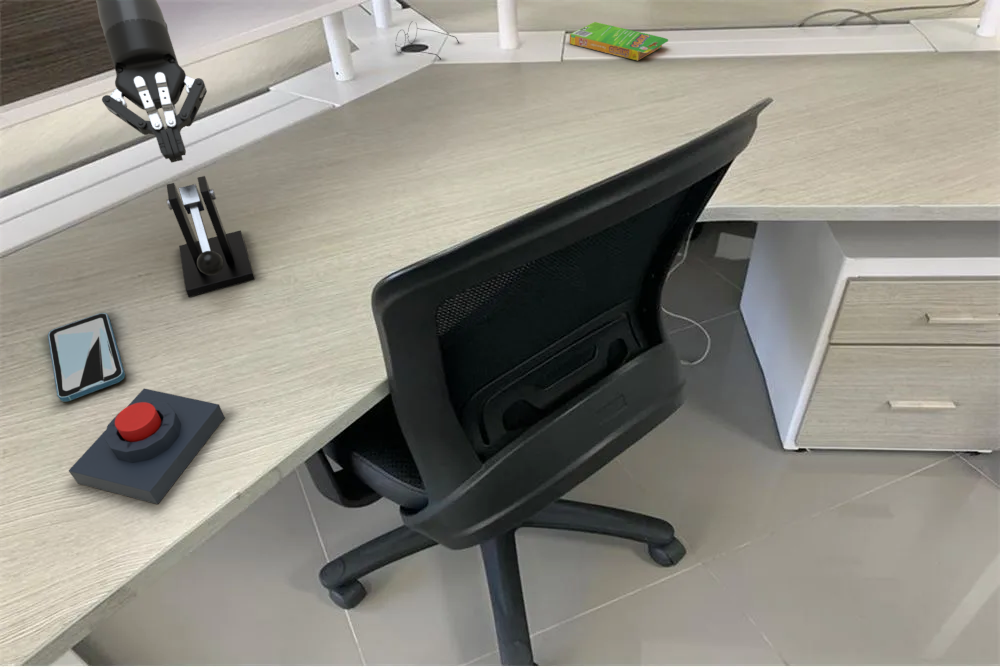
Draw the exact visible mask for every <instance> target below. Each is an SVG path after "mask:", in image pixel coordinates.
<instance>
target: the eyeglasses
mask: <svg viewBox="0 0 1000 667" xmlns="http://www.w3.org/2000/svg"><path fill="white" fill-rule="evenodd" d="M411 24H412V22H410V23H409V25H408V29H407V31H410V30H409V29H410V26H411ZM415 24H416V26H418V24H417V23H415ZM416 30H420V28H419V27H416ZM422 30H424V31H428V29H426V28H421V31H422ZM401 31H403V33H404V38H405V39H404V42H406V40H407V41H408V43H409V44H411V45H412V44H413V42H415V41H416V39H417V35H418V32H416V34H415V38H414V40H413V42H410V40H409V38H410V35H407V33H406V32H405V30H404V29H400V30H399V31H398V32H397V34H396V36H395V40H397V39H398V35H399V33H400V32H401ZM429 32H433V30H432V29H429ZM434 32H435V33H438V34H442V35H446V36H449V37H453V38H455V39H456V42H457V43H458V44H460V41H459V40H458V38H457V36H455V35H452V34H448V33H443V32H439V31H436V30H434ZM406 35H407V36H406ZM394 45H395V47H397V48H401V49H402V50H401V51H398V49H397V48H395V51H396V53H398V54H401V53H402V52H403V51H404V50H408V51H411V52H415V50H413V49H408V48H406V47H405V46H406V44H404V46H400V45H397V44H394ZM416 52H418V53H421V51H420V50H416ZM422 53H424V54H429V55H434V56H436V57H437V58H438V59H439V60H440V61H441V60H442V58H441V57H440V56H439V55H438V54H437V53H433V52H432V53H431V52H425V51H422Z"/></svg>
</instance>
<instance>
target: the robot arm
mask: <svg viewBox="0 0 1000 667" xmlns="http://www.w3.org/2000/svg"><path fill="white" fill-rule="evenodd" d="M95 3H96V7H97V13H98V20H99V22H100V25H101V29H102V32H103V35H104V38H105V42H106V45H107V49H108V51H109V55H110V57H111V62H112V64H113V67H114V70H115V74H116V75H115V80H114V86H115V89H114V90H113V91H112V92H111V94H110V95H108V94H106V95H103V96H102V98H101V102H102V103H103V105H104V106H105V107H106V109H107V110H108V111H109V112H110V113H112V114H113V115H114V116H115V117H117V118H119V119H120V120H121V121H123V122H124V123H126V124H127V125H128V126H130V127H132V128H133V129H135V130H136V131H137V132H139V133H141V134H142V135H144V136H147V135H153V136H155V138H156V141H157V144H158V148H159V151H160V153H161V155H162V156H163V157H164V159H165V160H169V161H170V163H176V162H180V161H183V160H184V159H183V158H184V157H183V156H186V155H187V154H186V152H187V151H186V146H185V144H184V141H183V138H182V134H181V131H182V129H184V128H185V127H191V126H192V125H193V123H194V121H195V118H196V117H197V114H198V112H199V110H200V108H201V106H202V104H203V101H204V99H205V97H206V94H207V91H208V90H207V86H206V83H205V81H204V79H202V78H199V77H198V78H192V77H191V76H188V75H187V74H186V72H185V70H184V69H183V68H182V67H181V65H180V64H179V62H178V58H177V55H176V53H175V49H174V46H173V42H172V41H171V40H172V39H171V36H170V33H169V29H168V24H167V22H166V19H165V17H164V14H163V12H162V9H161V7H160V4H159V2H158V0H95ZM184 89H185V91H186V94H187V95H186V97H185V100H184V101H183V104H182V105H181V108H180V111H179V113H178V114H177V109H176V104H178V102H179V100H180V98H181V96H182V93H183V90H184ZM124 98H126V99H127V100H128V101H130V102H131V103H133V104H134V105H135V106H137V107H138V108H139V109H140V110H143V111H145V112H146V114H147V117H148V120H145V119H144V118H142V117H141V116H139V115H138V114H136V113H135V112H134V111H132V109H130V108H128V104H127V102H126V100H125V99H124ZM160 109H162V110H163V112H162V113H163V115H164V120H165V124H166V127H165V125H164V122H163V120H162V117H161V114H160V112H159V110H160Z"/></svg>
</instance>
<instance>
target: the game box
mask: <svg viewBox="0 0 1000 667" xmlns="http://www.w3.org/2000/svg"><path fill="white" fill-rule="evenodd" d="M668 42H669V39H668V38H666V37H663V36H657V35H653V34H649V33H645V32H641V31H636V30H631V29H628V28H623V27H620V26H619V27H618V26H615V25H610V24H606V23H601V22H597V21H594V22H591V23H589V24H587V25H586V26H583V27H581V28H579V29H577V30H575V31H573V32H571V33H569V44H570V45H573V46H578V47H581V48H584V49H585V48H586V49H589V50H593V51H596V52H601V53H605V54H610V55H614V56H617V57H621V58H624V59H630V60H633V61H637V62H639V61H640V60H641V59H644V58H645V57H647V56H648V55H650V54H652V53H654V52H656V51H657V50H659V49H661V48H662V47H663V45H664V44H666V43H668Z"/></svg>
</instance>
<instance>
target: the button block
mask: <svg viewBox="0 0 1000 667" xmlns="http://www.w3.org/2000/svg"><path fill="white" fill-rule="evenodd" d="M140 402H146V403H150V404H152V405H153V406H154V407H155V409H156V411H157V413H158V415H159V416H160V418H161V426H160V428H159V429H158V430H157V432H156V433H155V434H153V435H151V436H150V437H148V438H146V439H144V440H141V441H136V442H129V441H126V440H124V439H123V438H122V436H121V434H120V433H119V431H118V430H117V428H116V426H115V419H116V417H117V415H118V414H119V413H120V412H121V411H120V412H118V413H117V414H116V415H115V416H114V417H113V419H112V420H110V422H109V423H108V424H107V425H106V429H105V430H104V431H103V432H102V433H101V434H100V436H99V437H97V439H96V440H95V441H94V442H92V444H91V445H90V446H89V447H88V449H87V450H86V451H85V452H84V453H83V454H82V455H81V456H80V457H79V459H78V460H76V461H75V463H74V464H73V465H72V466H71V467H70V468H69V469H68V473H69V474H70V475H71V476H72V478H73V479H74V480H75V482H76V483H77V484H79V485H83V486H87V487H91V488H94V489H98V490H102V491H106V492H109V493H113V494H116V495H121V496H125V497H129V498H132V499H135V500H140V501H143V502H148V503H152V504H155V505H159V504H160V503H161V501H162V500H163V499H164V497H165V496H166V494H167V493H168V492H169V491H170V489H171V488H172V487H173V486H174V485H175V483H176V482H177V481H178V479H179V478H180V476H181V475H182V474H183V473H184V472H185V470H186V469H187V467H188V466H189V465H190V464H191V462H192V461H193V460H194V458H195V457H196V456H197V454H198V453H199V452H200V451H201V449H202V448H203V446H204V445H205V444H206V443H207V442H208V441H209V439H210V438H211V436H212V435H213V434H214V432H215V431H216V430H217V428H218V427H220V425H221V423H222V422H223V420H224V419H225V415H224V412H223V411H222V408H221V406H220V404H218V403H214V402H209V401H206V400H205V401H204V400H201V399H195V398H190V397H185V396H182V395H176V394H172V393H167V392H162V391H158V390H153V389H149V388H143V389H142V390H141V391H140V392H139V393H138V394H137V395H136V396H135V397H134V398H133V400H132V401H130V403H129V404H128V405H127V406H126V407H128V406H130V405H132V404H135V403H140Z"/></svg>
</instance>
